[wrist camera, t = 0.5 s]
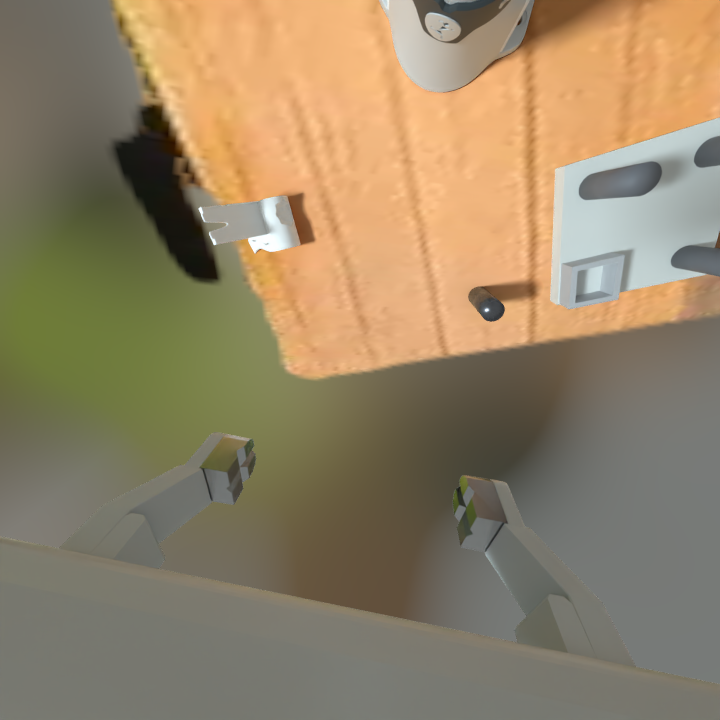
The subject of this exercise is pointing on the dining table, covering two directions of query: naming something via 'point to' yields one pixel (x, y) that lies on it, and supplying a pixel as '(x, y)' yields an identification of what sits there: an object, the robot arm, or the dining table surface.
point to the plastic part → (255, 223)
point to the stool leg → (486, 304)
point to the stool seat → (637, 217)
